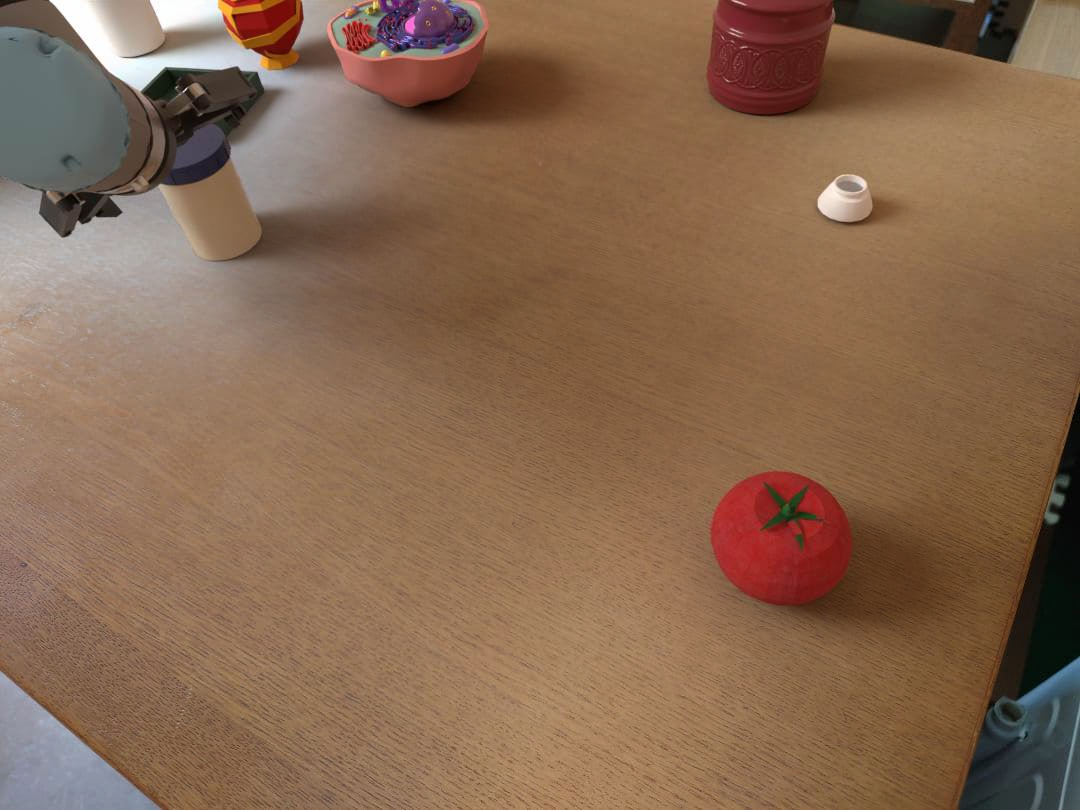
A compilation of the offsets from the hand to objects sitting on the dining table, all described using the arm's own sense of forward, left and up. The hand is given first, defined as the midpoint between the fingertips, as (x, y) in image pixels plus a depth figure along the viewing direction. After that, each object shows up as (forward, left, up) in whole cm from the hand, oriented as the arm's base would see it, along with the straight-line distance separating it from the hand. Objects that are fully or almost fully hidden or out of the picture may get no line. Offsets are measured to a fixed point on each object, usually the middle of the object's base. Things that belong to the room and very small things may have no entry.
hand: (168, 158), depth 72 cm
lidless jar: (+62, +14, -10) cm, 65 cm away
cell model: (+12, +31, -10) cm, 35 cm away
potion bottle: (-10, +37, -10) cm, 40 cm away
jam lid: (+1, +1, 0) cm, 2 cm away
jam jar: (+1, +1, -10) cm, 10 cm away
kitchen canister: (+53, +36, -10) cm, 65 cm away
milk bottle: (-33, +39, -10) cm, 52 cm away
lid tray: (-15, +23, -10) cm, 29 cm away
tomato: (+57, -26, -10) cm, 63 cm away
